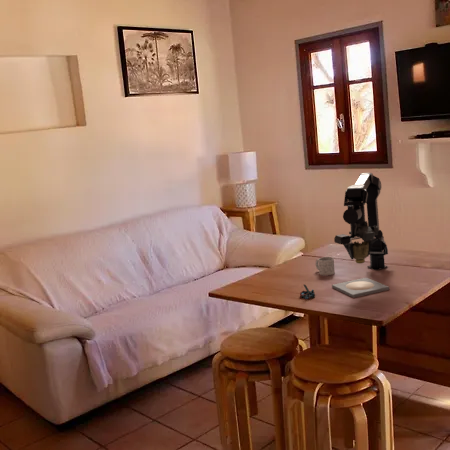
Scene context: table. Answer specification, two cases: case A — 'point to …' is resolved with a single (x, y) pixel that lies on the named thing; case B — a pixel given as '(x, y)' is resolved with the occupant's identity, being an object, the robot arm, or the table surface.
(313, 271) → the table surface
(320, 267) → the mug
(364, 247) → the brown mottled round piece
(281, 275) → the table surface
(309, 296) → the dark blue lumpy piece
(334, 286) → the board
